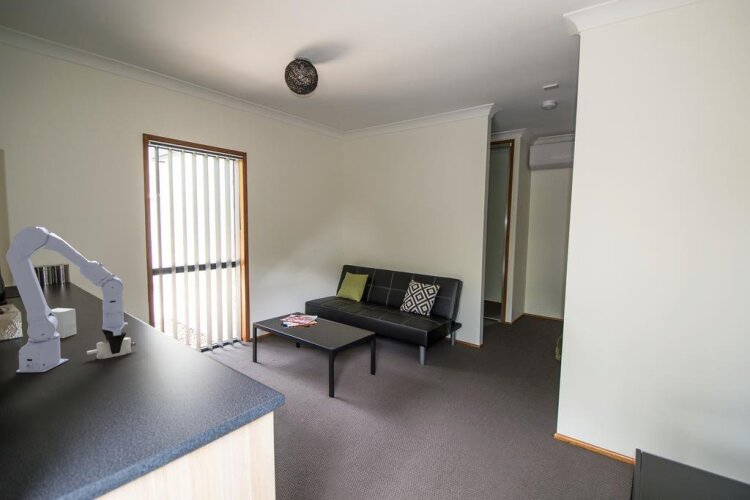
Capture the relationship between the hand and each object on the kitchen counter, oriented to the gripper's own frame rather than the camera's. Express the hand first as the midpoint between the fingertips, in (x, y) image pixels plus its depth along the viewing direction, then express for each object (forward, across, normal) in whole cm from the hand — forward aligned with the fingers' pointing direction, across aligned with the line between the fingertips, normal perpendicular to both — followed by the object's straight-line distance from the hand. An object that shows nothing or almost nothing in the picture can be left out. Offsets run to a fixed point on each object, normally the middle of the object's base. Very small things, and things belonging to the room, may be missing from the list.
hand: (114, 350), depth 121 cm
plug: (+1, 0, 0) cm, 1 cm away
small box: (+2, +37, +12) cm, 39 cm away
